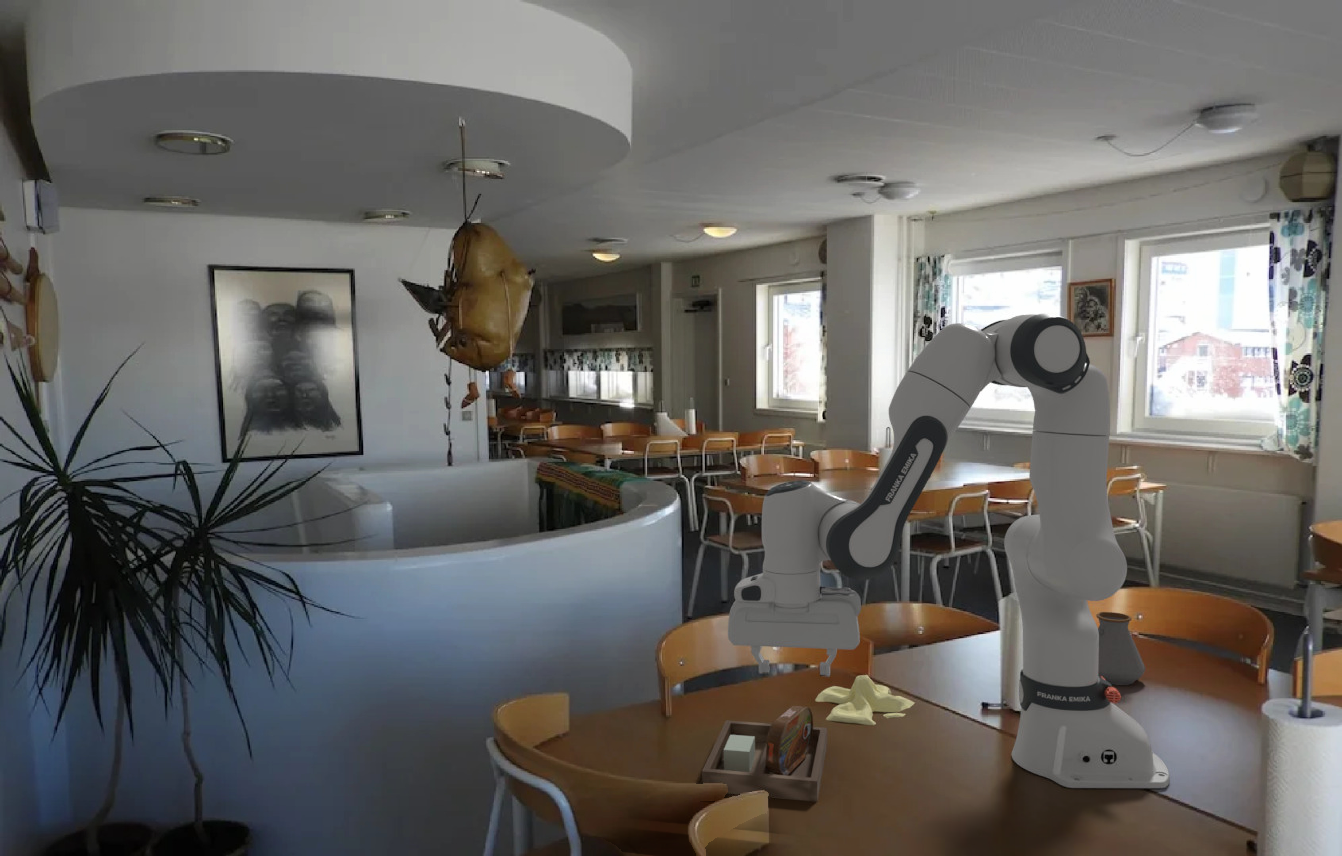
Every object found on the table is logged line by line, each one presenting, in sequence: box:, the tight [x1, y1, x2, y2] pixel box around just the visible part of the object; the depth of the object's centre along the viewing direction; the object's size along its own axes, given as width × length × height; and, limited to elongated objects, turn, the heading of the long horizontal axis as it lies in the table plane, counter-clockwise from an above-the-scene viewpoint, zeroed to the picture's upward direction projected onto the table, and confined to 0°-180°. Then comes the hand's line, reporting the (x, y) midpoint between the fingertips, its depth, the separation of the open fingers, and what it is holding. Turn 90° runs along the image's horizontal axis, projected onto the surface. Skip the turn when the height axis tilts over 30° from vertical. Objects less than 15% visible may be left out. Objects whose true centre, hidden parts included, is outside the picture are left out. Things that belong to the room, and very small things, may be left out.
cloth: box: [815, 674, 915, 726], centre depth 171 cm, size 22×19×6 cm
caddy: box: [701, 719, 828, 803], centre depth 143 cm, size 17×20×4 cm
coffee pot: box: [1095, 611, 1146, 686], centre depth 181 cm, size 21×12×15 cm, turn 105°
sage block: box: [724, 735, 755, 772], centre depth 144 cm, size 4×6×4 cm, turn 166°
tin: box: [766, 705, 814, 776], centre depth 142 cm, size 15×3×8 cm, turn 152°
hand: (794, 673), depth 141 cm, fingers open, 8 cm apart
